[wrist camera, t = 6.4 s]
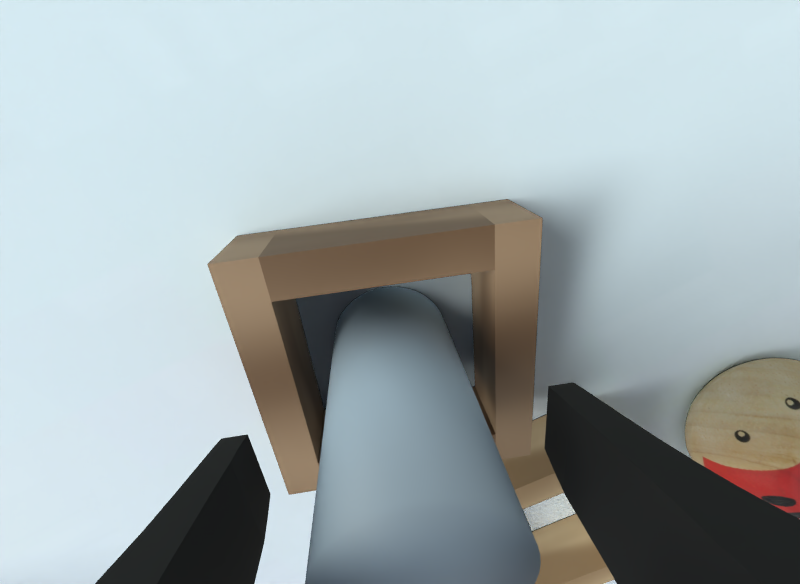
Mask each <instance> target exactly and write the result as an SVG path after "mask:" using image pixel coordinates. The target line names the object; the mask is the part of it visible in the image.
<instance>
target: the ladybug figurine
mask: <svg viewBox="0 0 800 584" xmlns="http://www.w3.org/2000/svg"><path fill="white" fill-rule="evenodd" d="M685 441H686V446H687V449H688V452H689V454H690V456H691V458H692V460H694V461H696V462H697V463H699V464H701V465H702V466H704V467H706V468H707V469H709V470H711V471H713V472H714V473H716V474H718V475H719V476H721V477H723V478H725V479H726V480H728V481H730V482H731V483H733V484H735V485H737V486H738V487H740V488H742V489H744V490H746V491H748V492H749V493H751V494H753V495H755V496H757V497H758V498H760V499H762V500H764V501H766V502H768V503H770V504H772V505H774V506H776V507H778V508H779V509H781V510H783V511H785V512H787V513H789V514H791V515H793V516H795V517H797V518H799V519H800V361H798V360H793V359H784V358H769V359H760V360H754V361H750V362H747V363H743V364H740V365H737V366H735V367H733V368H730V369H728V370H726V371H724V372H723V373H721V374H719V375H718V376H716V377H715V378H714V379H712V380H711V381H710V382H709V383H708V384H707V385H706V386H705V387H704V388H703V389H702V390H701V391H700V392H699V393H698V395H697V396H696V397H695V399H694V400H693V402H692V404H691V406H690V409H689V411H688V415H687V419H686V424H685Z"/></svg>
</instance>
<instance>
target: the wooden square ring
mask: <svg viewBox="0 0 800 584" xmlns="http://www.w3.org/2000/svg"><path fill="white" fill-rule="evenodd" d="M542 219H543V218H542V217H540V216H538V215H536V214H534V213H532V212H530V211H529V210H527V209H525V208H523V207H521V206H519V205H517V204H516V203H514V202H512V201H510V200H508V199H506V200H498V201H491V202H483V203H476V204H469V205H461V206H454V207H446V208H439V209H432V210H424V211H417V212H409V213H402V214H395V215H387V216H380V217H372V218H365V219H358V220H350V221H343V222H335V223H328V224H321V225H313V226H306V227H298V228H291V229H284V230H276V231H269V232H261V233H254V234H247V235H239V236H236V237H235V238H234V239H233V240H232V241H231V242H230V243H229V244H228V245H227V246H226V247H225V248H224V249H223V250H222V251H221V252H220V253H219V254H218V255H217V256H215V257H214V258H213V259H212V260H211V261H210V262H209V263H208V264H207V265H208V267H209V270H210V273H211V276H212V279H213V282H214V284H215V287H216V290H217V293H218V296H219V299H220V301H221V304H222V307H223V310H224V313H225V315H226V318H227V321H228V324H229V327H230V330H231V332H232V335H233V338H234V341H235V344H236V347H237V349H238V352H239V355H240V358H241V361H242V363H243V366H244V369H245V372H246V375H247V378H248V380H249V383H250V386H251V389H252V392H253V395H254V397H255V400H256V403H257V406H258V409H259V411H260V414H261V417H262V420H263V423H264V426H265V428H266V431H267V434H268V437H269V440H270V443H271V445H272V448H273V451H274V454H275V457H276V459H277V462H278V465H279V468H280V471H281V474H282V476H283V479H284V482H285V485H286V488H287V491H288V493H289V495H290V494H296V493H302V492H308V491H314V490H316V489H317V481H318V472H319V464H320V456H321V447H322V439H323V431H324V422H325V414H326V410H324V407H323V403H322V400H321V396H320V392H319V388H318V384H317V380H316V376H315V372H314V368H313V365H312V361H311V357H310V353H309V349H308V345H307V341H306V337H305V334H304V330H303V326H302V322H301V318H300V314H299V310H298V306H297V302H296V299H295V298H302V297H309V296H316V295H323V294H330V293H337V292H344V291H351V290H358V289H365V288H372V287H379V286H386V285H393V284H400V283H407V282H414V281H421V280H428V279H435V278H442V277H449V276H456V275H463V274H470V273H471V283H472V313H473V343H474V373H475V387H472V389H473V391H474V394H475V396H476V398H477V401H478V403H479V406H480V408H481V410H482V413H483V415H484V418H485V420H486V422H487V425H488V427H489V430H490V432H491V434H492V437H493V439H494V442H495V444H496V446H497V449H498V451H499V454H500V456H501V459H508V458H514V457H520V456H526V455H530V454H531V434H532V415H533V395H534V376H535V356H536V336H537V317H538V297H539V278H540V258H541V239H542Z"/></svg>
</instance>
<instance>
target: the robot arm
mask: <svg viewBox="0 0 800 584" xmlns="http://www.w3.org/2000/svg"><path fill="white" fill-rule="evenodd" d="M544 449H545V451H546V453H547V456H548V458H549V460H550V463H551V465H552V467H553V470H554V472H555V474H556V476H557V479H558V481H559V483H560V485H561V487H562V489H563V491H564V493H565V495H566V497H567V498H568V500H569V502H570V504H571V505H572V507H573V509H574V511H575V512H576V514H577V516H578V518H579V519H580V521H581V523H582V525H583V526H584V528H585V530H586V531H587V533H588V535H589V536H590V538H591V540H592V542H593V543H594V545H595V547H596V548H597V550H598V552H599V554H600V555H601V557H602V559H603V560H604V562H605V564H606V565H607V567H608V569H609V571H610V572H611V574H612V576H613V577H614V579H615V581H616V583H617V584H800V519H799V518H797V517H795V516H793V515H791V514H789V513H787V512H785V511H783V510H781V509H779V508H778V507H776V506H774V505H772V504H770V503H768V502H766V501H764V500H762V499H760V498H758V497H757V496H755V495H753V494H751V493H749V492H748V491H746V490H744V489H742V488H740V487H738V486H737V485H735V484H733V483H731V482H730V481H728V480H726V479H725V478H723V477H721V476H719V475H718V474H716V473H714V472H713V471H711V470H709V469H707V468H706V467H704V466H702V465H701V464H699V463H697V462H696V461H694V460H692V459H691V458H689V457H687V456H686V455H684V454H682V453H681V452H679V451H678V450H676V449H674V448H673V447H671V446H669V445H668V444H666V443H665V442H663V441H662V440H660V439H658V438H657V437H655V436H654V435H652V434H651V433H649V432H647V431H646V430H644V429H643V428H641V427H640V426H638V425H637V424H635V423H634V422H632V421H631V420H629V419H628V418H626V417H625V416H623V415H622V414H620V413H619V412H617V411H616V410H614V409H613V408H611V407H610V406H608V405H607V404H605V403H604V402H602V401H601V400H599V399H598V398H596V397H595V396H593V395H592V394H590V393H589V392H587V391H586V390H584V389H583V388H581V387H579V386H578V385H576V384H575V383H567V384H561V385H555V386H549V388H548V403H547V417H546V432H545V446H544ZM269 501H270V492H269V489H268V487H267V484H266V482H265V479H264V476H263V474H262V471H261V468H260V466H259V463H258V461H257V458H256V455H255V453H254V450H253V447H252V445H251V442H250V440H249V437H248V435H242V436H235V437H229V438H223V439H221V440H220V441H219V442H218V443H217V444H216V445H215V446H214V448H213V449H212V450H211V451H210V452H209V454H208V455H207V456H206V457H205V458H204V460H203V461H202V462H201V463H200V464H199V466H198V467H197V468H196V469H195V470H194V472H193V473H192V474H191V475H190V476H189V478H188V479H187V480H186V481H185V482H184V484H183V485H182V486H181V487H180V488H179V490H178V491H177V492H176V493H175V494H174V496H173V497H172V498H171V499H170V500H169V501H168V503H167V504H166V505H165V506H164V507H163V508H162V510H161V511H160V512H159V513H158V514H157V515H156V517H155V518H154V519H153V520H152V521H151V522H150V524H149V525H148V526H147V527H146V528H145V529H144V531H143V532H142V533H141V534H140V535H139V536H138V537H137V538H136V539H135V541H134V542H133V543H132V544H131V545H130V546H129V547H128V548H127V549H126V550H125V551H124V553H123V554H122V555H121V556H120V557H119V558H118V559H117V560H116V561H115V562H114V564H113V565H112V566H111V567H110V568H109V569H108V570H107V571H106V572H105V573H104V575H103V576H102V577H101V578H100V579H99V580H98V581H97V582H96V583H95V584H254V582H255V578H256V574H257V570H258V566H259V562H260V557H261V553H262V549H263V545H264V539H265V532H266V525H267V518H268V510H269Z"/></svg>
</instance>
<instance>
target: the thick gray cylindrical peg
mask: <svg viewBox="0 0 800 584" xmlns="http://www.w3.org/2000/svg"><path fill="white" fill-rule="evenodd" d="M540 565H541V559H540V552H539V548H538V545H537V543H536V540H535V538H534V535H533V533H532V531H531V528H530V526H529V523H528V521H527V519H526V516H525V514H524V511H523V509H522V507H521V504H520V502H519V499H518V497H517V495H516V492H515V490H514V487H513V485H512V483H511V480H510V478H509V475H508V473H507V471H506V468H505V466H504V463H503V461H502V459H501V456H500V454H499V451H498V449H497V446H496V444H495V442H494V439H493V437H492V434H491V432H490V430H489V427H488V425H487V422H486V420H485V418H484V415H483V413H482V410H481V408H480V406H479V403H478V401H477V398H476V396H475V394H474V391H473V389H472V386H471V384H470V382H469V379H468V377H467V374H466V372H465V370H464V367H463V365H462V362H461V360H460V358H459V355H458V353H457V350H456V348H455V346H454V343H453V341H452V338H451V336H450V333H449V331H448V329H447V326H446V324H445V321H444V319H443V317H442V315H441V313H440V311H439V309H438V308H437V306H436V305H435V304H434V303H433V302H432V301H431V300H430V299H428V298H427V297H426V296H424V295H423V294H421V293H419V292H417V291H414V290H411V289H408V288H403V287H382V288H378V289H374V290H371V291H368V292H366V293H364V294H362V295H360V296H359V297H357V298H356V299H355V300H353V301H352V302H351V303H350V304H349V305H348V306H347V307H346V308H345V310H344V311H343V313H342V314H341V316H340V318H339V320H338V323H337V326H336V331H335V339H334V347H333V356H332V364H331V372H330V381H329V389H328V397H327V406H326V414H325V422H324V431H323V439H322V447H321V456H320V464H319V472H318V481H317V489H316V498H315V506H314V514H313V523H312V531H311V539H310V548H309V556H308V564H307V573H306V581H305V584H535V582H536V580H537V577H538V575H539V571H540Z"/></svg>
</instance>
